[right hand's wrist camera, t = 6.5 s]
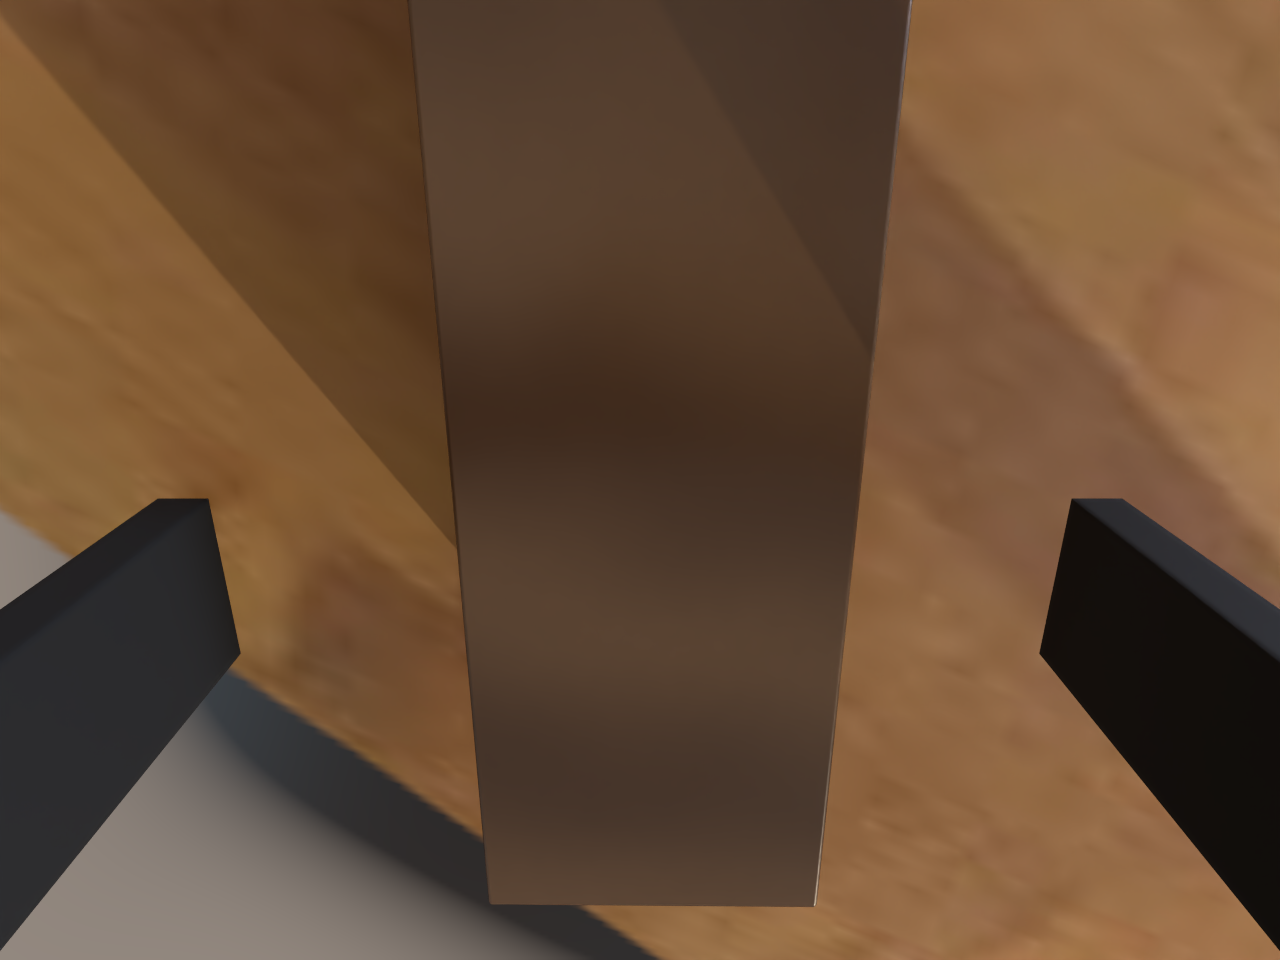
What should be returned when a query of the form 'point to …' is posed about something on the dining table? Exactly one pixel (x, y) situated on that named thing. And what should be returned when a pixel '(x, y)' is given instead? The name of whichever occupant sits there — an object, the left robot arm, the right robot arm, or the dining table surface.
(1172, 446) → the dining table surface
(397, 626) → the dining table surface
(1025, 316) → the dining table surface
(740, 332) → the bar
